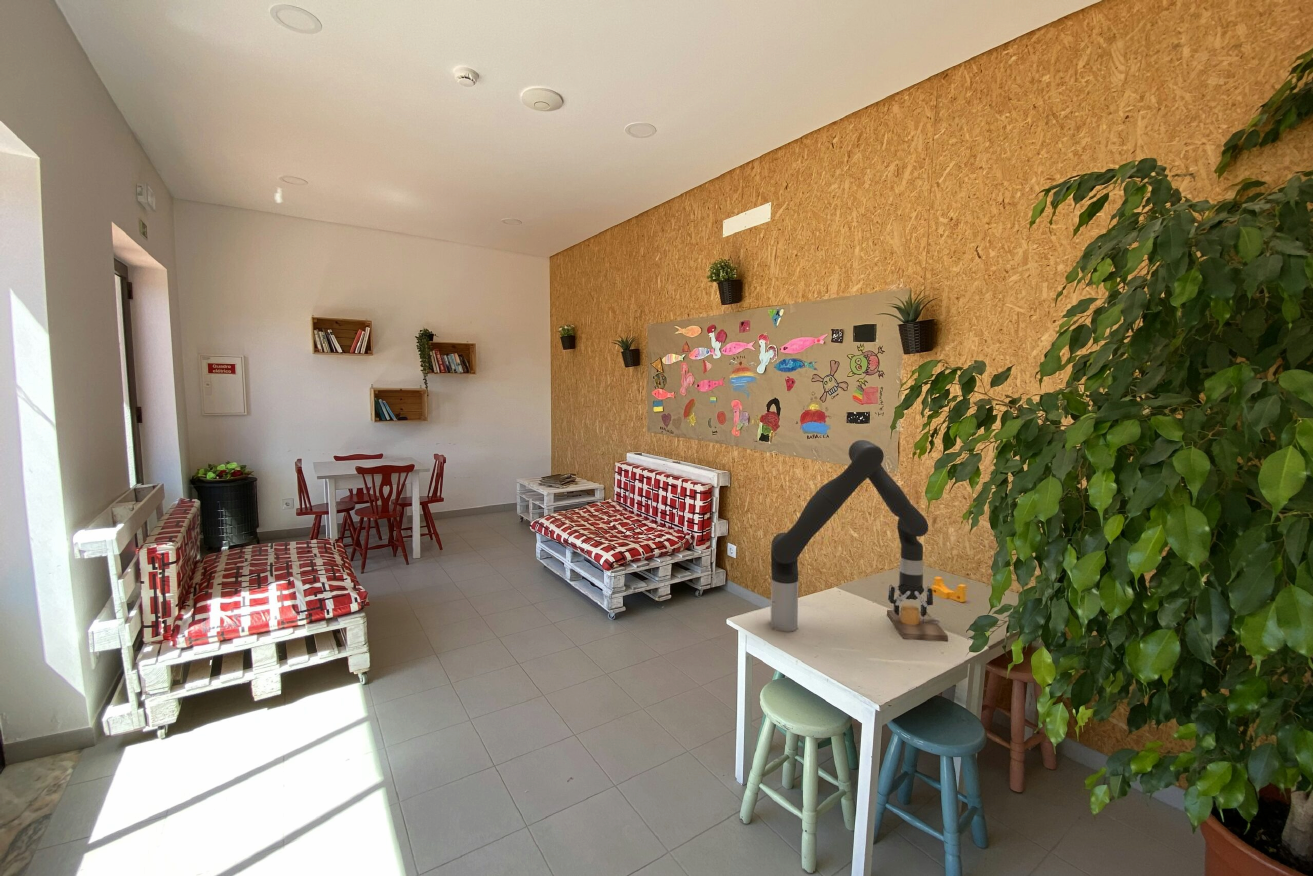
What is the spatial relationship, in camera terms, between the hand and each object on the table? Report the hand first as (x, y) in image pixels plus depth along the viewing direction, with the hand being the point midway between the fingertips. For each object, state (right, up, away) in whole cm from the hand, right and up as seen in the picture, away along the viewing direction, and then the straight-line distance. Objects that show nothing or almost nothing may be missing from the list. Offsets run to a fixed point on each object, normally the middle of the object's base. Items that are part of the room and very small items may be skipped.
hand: (909, 615), depth 190 cm
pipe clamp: (+29, -2, +28) cm, 41 cm away
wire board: (+2, -4, 0) cm, 5 cm away
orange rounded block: (0, -2, 0) cm, 2 cm away
